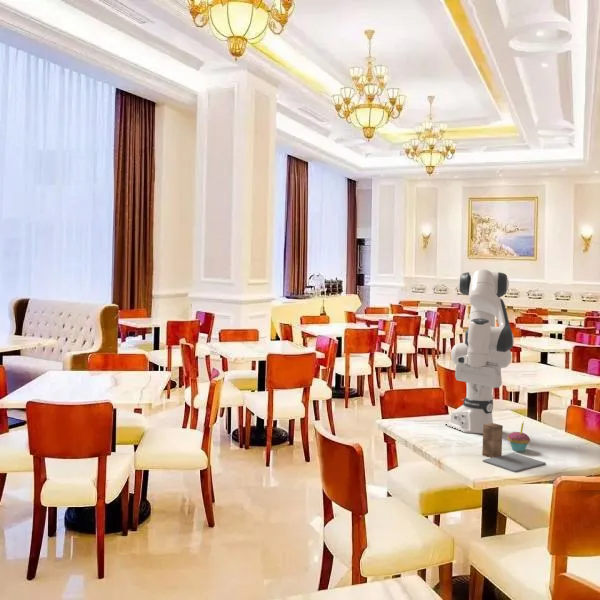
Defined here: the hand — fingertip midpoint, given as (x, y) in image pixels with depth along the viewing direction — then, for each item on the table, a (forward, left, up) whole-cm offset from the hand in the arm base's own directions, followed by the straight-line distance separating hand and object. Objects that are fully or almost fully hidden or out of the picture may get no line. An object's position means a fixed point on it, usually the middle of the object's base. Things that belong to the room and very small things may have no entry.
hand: (477, 395), depth 238 cm
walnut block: (+8, 0, -22) cm, 23 cm away
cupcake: (+8, +16, -22) cm, 28 cm away
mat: (+18, 0, -22) cm, 28 cm away
